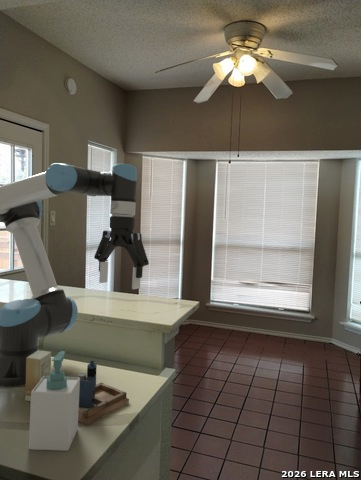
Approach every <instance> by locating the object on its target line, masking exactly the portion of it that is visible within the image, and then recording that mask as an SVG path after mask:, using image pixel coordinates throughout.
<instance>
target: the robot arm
mask: <svg viewBox="0 0 361 480" xmlns="http://www.w3.org/2000/svg"><path fill="white" fill-rule="evenodd" d="M137 184H138V169H137V167H136V166H135V165H132V164H129V163H114V164H113V165H112V168H111V171H98V170H93V169H89V168H85V167H84V168H83V167H80V166H75V165H71V164H69V163H62V162H61V163H60V162H55V163H52V164H50V165H49V167H48V168H47V169H46V171H45V172H40V173H38V174H35V175H31V176H28V177H26V178H25V177H24V178H22V179H19V180H16V181H13V182H9V183H6V184H4V185H0V223H3V224H4V226H5V229H6V231H7V232H9V233H10V234H12V236H13V238H14V242H15V245H16V247H17V248H16V249H17V251H18V254H19V258H20V260H21V261H20V262H21V263H22V267H23V269H24V273H25V276H26V278H27V282H28V285H29V288H30V291H31V294H32V296H31V298H23V299H16V300H13V301H9V302H7V303H5V304H3V305H2V306H1V308H0V387H5V388H9V387H11V388H12V387H13V388H14V387H21V386H26V358H27V357H28V356H30V355H31V354H33V353H34V352H36V351H37V350H39V347H40V346H39V344H40V343H39V342H40V341H39V340H40V339H43V338H45V337H46V338H47V337H49V336H53V335H57V334H63V333H64V332H65V331H69V330H70V329H71V328H73V327H74V325H75V324H76V320H77V319H78V316H79V315H78V312H79V311H78V306H77V303H76V301H75V300H74V299H72V297H69V296H66V293H65V290H64V289H63V288H61V287H59V286H58V284H57V281H56V278H55V276H54V272H53V269H52V266H51V263H50V260H49V257H48V255H47V252H46V248H45V246H44V243H43V239H42V236H41V234H40V231H39V228H38V227H39V224H40V222H41V221H40V219H41V218H42V215H43V213H42V212H43V205H42V202H41V201H42V200H43V201H44V200H46V199H49V198H50V199H51V198H54V197H57V196H61V195H64V194H68V193H73V194H81V195H84V196H88V197H110V211H109V213H110V214H111V216H109V228H110V230H103V231H102V236H101V240H100V242H99V244H98V246H97V249H96V252H95V254H94V260H97V261H98V273H99V280H98V281H99V282H98V283H99V284H103V283H108V273H109V271H108V270H109V262H108V261H109V260H108V259H109V257H110V256H111V255H112V253H113V252H114V250H115V249H116V248H117V247H119V248H124V249H125V250H126V251H127V254H128V255H129V257H130V259H131V260H132V262H133V264H134V266H132V278H131V279H132V281H131V289H132V290H138V289H141V279H142V278H143V269H144V267H145V266H148V265H149V264H150V262H149V259H148V256H147V253H146V250H145V246H144V243H143V238H142V233H141V232H134V229H135V226H136V225H135V224H136V223H135V222H136V218H135V217H134V216H136V205H137V202H136V201H137V199H136V196H137Z"/></svg>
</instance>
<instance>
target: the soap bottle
mask: <svg viewBox="0 0 361 480" xmlns="http://www.w3.org/2000/svg"><path fill="white" fill-rule="evenodd" d="M65 353H66V351H64V350H61V351H59V352H58V353H57V354H56V355H54V357H53V358H51V362H53V368H54V370H53V371H51V374H50V376H43V378H42V379H41V380H40V381H39V383H38V384H37V385H36V386H35V388H34V389H33V390H32V391H31V401H30V405H29V406H30V408H29V409H30V410H29V412H30V413H29V429H28V430H29V433H28V449H29V450H35V451H37V450H39V451H40V450H41V451H46V450H47V451H65V452H67V451H69V450H70V447H71V445H72V444H73V441H74V438H75V437H76V434H77V431H78V429H79V421H78V411H79V390H80V377H78V376H66V375H65V373H64V371H63V370H61V367H62V365H63V364H62V363H63V361H64V357H65Z"/></svg>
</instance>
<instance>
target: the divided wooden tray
mask: <svg viewBox="0 0 361 480" xmlns="http://www.w3.org/2000/svg"><path fill="white" fill-rule="evenodd" d="M129 403H130V398H128V397H127V392H126V391H123V390H121V389H119V388H116V387H113V386H110V385H109V384H106V383H104V382H100V383H96V387H95V402H94V407H92V408H84V407H79V411H78V422H81V423H83V424H85V425H87V426H89V425H91V424H92V423H94V422H96V421H98V420H100V419H102V418H103V416H104V417H105V416H107V415H109V414H111V413H112V412H114V410H115V411H116V410H119V409H120V408H122V407H123V406H126V405H128V404H129Z"/></svg>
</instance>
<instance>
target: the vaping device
mask: <svg viewBox="0 0 361 480" xmlns="http://www.w3.org/2000/svg"><path fill="white" fill-rule="evenodd" d="M77 377H80V390H79V407H84V408H92V407H94V402H95V387H96V385H97V363H95V360H91V361H89V364H87V371H86V373H85V372H84V373H83V372H81V373H79V374H78V376H77Z"/></svg>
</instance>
